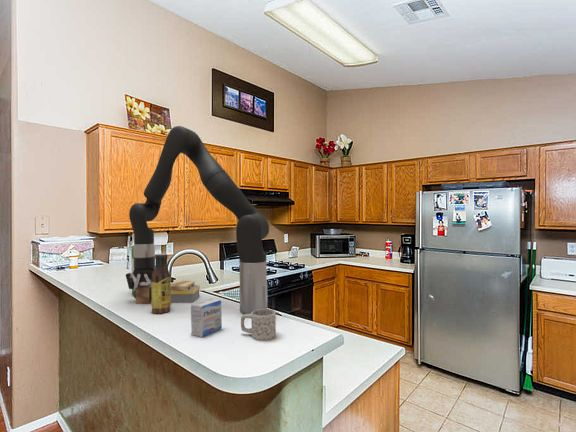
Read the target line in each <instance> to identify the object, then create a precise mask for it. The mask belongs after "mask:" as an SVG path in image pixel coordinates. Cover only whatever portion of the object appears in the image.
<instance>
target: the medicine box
mask: <svg viewBox="0 0 576 432" xmlns="http://www.w3.org/2000/svg"><path fill="white" fill-rule="evenodd" d="M222 318H223V317H222V300H221V299H217V298H209V299H205V300H203V301H199V302H196V303H194V304H193V303H192V304H191V305H190V320H191V321H190V323H191V324H190V325H191V326H190V327H191V330H190V332H191V335H192V336H196V337H201V338H205V337H207V336H209V335H212V334H213V333H217V332H218V331H220V330H222V329H223V328H222V327H223V326H222V325H223V324H222V322H223V321H222Z"/></svg>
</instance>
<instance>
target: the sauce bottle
mask: <svg viewBox="0 0 576 432" xmlns="http://www.w3.org/2000/svg"><path fill="white" fill-rule="evenodd" d="M171 280H172V279H171V274H170V271H169V267H168V254H167V253H155V270H154V272H153V273H152V299H151V303H150V305H151V312H152V313H153V314H165V313H168V312H169V311H170V310H171V305H172V302H171V283H172V282H171Z"/></svg>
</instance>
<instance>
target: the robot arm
mask: <svg viewBox="0 0 576 432" xmlns="http://www.w3.org/2000/svg"><path fill="white" fill-rule="evenodd" d="M180 154H183V155H185V156H186V157H187V158H188V159H189V160H190V161H191V162H192V164H194V166H195V167H196V170H197V171H198V174H199V178H200V181H201V182H202V185H203V186H204V188H205V189H206V190H207V191H208V193H209V194H210V196H211V197H213V199H214V200H216V201H217V202H218V203H219V204H221V206H223V207H225V208H226V209H227V210H229V211H230V212H231V213H232V214H233V215H235V217H236V219H238V221H237V224H236V228H235V238H236V251H237V255H238V257H239V312H240V313H241V314H242V315H244V314H251V312H252V311H254V310H258V309H268V281H267V253H266V252H265V251H264V248H263V240H264V239H265V238H266V237H267V236H268V235H269V232H270V225H269V222H268V220H267V218H266V217H265V216H264V215H263V214H262V213H261V212H260V211H259V210H258V209H257V208H256V207H255V206H254V205H253V204H252V203H251V202H250V201H249V199H248V198H247V197H246V196H245V194H244V193H243V192H242V190H241V189H240V188H239V187H238V185H237V184H236V183H235V181H234V180H233V179H232V178H231V176H230V175H229V173H228V172H227V171H226V170H225V169H224V168H223V167H222V165H220V163H219V162H218V161H217V160H216V159H215V158H214V157H213V155H212V154H211V153H210V151H209V150H208V148H207V147H206V145H205V144H204V142H203V140H202V139H201V137H200V136H199V135H198V134H197V133H196V132H195V131H193V130H191V129H189V128H187V127H184V126H182V125H177V126H174V127H172V128H171V129H170V130H169V132H168V133H167V136H166V138H165V141H164V144H163V146H162V150H161V153H160V155H159V158H158V161H157V164H156V167H155V170H154V172H153V173H152V175H151V177H150V179H149V181H148V183H147V185H146V186H145V188H144V191H143V197H145V198H146V199H145V202H136V203H134V204H132V206H131V207H130V209H129V212H128V215H129V216H128V218H129V221H130V226H131V229H132V231H133V245H134V253H133V256H134V271H133V273H132V272H128V273H126V274H125V278H126V282H127V285H128V289H130V290H132V289H133V290H134V295H133V297H134V300H136V295H135V288H136V287H139V286H140V285H141V283H142V282H147V284H148V285H149V287H150V290H151V291H150V300H151V299H152V273H153V272H154V270H155V268H156V267H155V265H156V259H155V254H156V249H155V248H156V247H155V234H154V233H155V232H154V229H153V228H151V227H149V226H148V222H151V221H154V220H155V219H156V218H157V216H158V215H159V212H160V209H161V205H162V200H163V198H164V197H165V195H166V193H167V192H168V189H169V187H170V185H171V182H172V179H173V178H172V176H173V168H174V165H175V162H176V160H177V158H178V157H179V155H180ZM133 276H135V278H136V281H135V285H134V281H133Z"/></svg>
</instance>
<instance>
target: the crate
mask: <svg viewBox="0 0 576 432" xmlns="http://www.w3.org/2000/svg"><path fill="white" fill-rule="evenodd" d="M150 291H151V290H150V287H149V285H141V286H139V287H136V288H135V295H136V299H135V305H149V304H150V305H151V300H150Z"/></svg>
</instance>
